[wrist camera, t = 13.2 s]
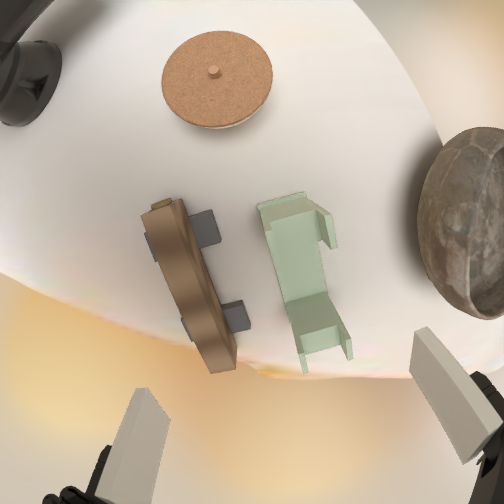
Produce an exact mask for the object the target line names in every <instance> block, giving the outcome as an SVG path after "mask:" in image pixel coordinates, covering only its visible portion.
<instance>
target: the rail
mask: <svg viewBox="0 0 504 504" xmlns="http://www.w3.org/2000/svg"><path fill="white" fill-rule="evenodd" d="M151 208H152V210H151V211H149V212H147V213H145V214H143V215H141V218H142V221H143V224H144V226H145V229H146V232H147V234H148V237H149V240H150V242H151V245H152V248H153V250H154V253H155V255H156V258H157V260H158V263H159V265H160V268H161V270H162V272H163V275H164V277H165V280H166V282H167V284H168V287H169V289H170V291H171V293H172V296H173V298H174V300H175V302H176V305H177V307H178V309H179V311H180V313H181V315H182V318H183V320H184V322H185V324H186V326H187V328H188V330H189V332H190V334H191V336H192V338H193V340H194V342H195V344H196V346H197V348H198V350H199V352H200V354H201V356H202V358H203V360H204V362H205V364H206V365H207V368H208V369H209V371H210V373H211V374H213V373H219V372H224V371H229V370H235V369H236V356H237V345H236V343H235V340H234V338H233V335H232V333H231V331H230V328H229V326H228V323H227V321H226V318H225V316H224V313H223V311H222V308H221V306H220V303H219V301H218V298H217V295H216V293H215V290H214V288H213V285H212V282H211V280H210V277H209V274H208V272H207V269H206V266H205V264H204V261H203V258H202V256H201V253H200V250H199V247H198V244H197V242H196V239H195V236H194V233H193V230H192V227H191V225H190V222H189V219H188V216H187V213H186V210H185V207H184V204H183V201H182V199H179V200H176V201H173V202H172V201H171V198H168V199H165V200H162V201H160V202H157V203H155V204H152V205H151Z"/></svg>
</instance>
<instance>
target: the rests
mask: <svg viewBox="0 0 504 504" xmlns="http://www.w3.org/2000/svg"><path fill="white" fill-rule="evenodd" d="M188 219H189V222H190V225H191V227H192V230H193V233H194V236H195V239H196V242H197V244H198V247H199V249H200V248H203V247H207V246H210V245H214V244H217V243H220V242H221V236H220V233H219V230H218V227H217V224H216V221H215V218H214V215H213V212H212V209H211V210H208V211H204V212H201V213H198V214H195V215H192V216H189V217H188ZM144 235H145V237H146V240H147V243H148V245H149V248H150V250H151V253H152V255H153V258H154V260H155V262H156V261H158V260H157V258H156V255H155V253H154V250H153V248H152V245H151V242H150V240H149V237H148V234H147V232H145V233H144ZM220 306H221V308H222V311H223V313H224V316H225V318H226V321H227V323H228V326H229V328H230V331H231V333H236V332H240V331H245V330H249V329H251V323H250V320H249V318H248V315H247V312H246V309H245V306H244V304H243V301H242V300H241V301H237V302H233V303H229V304H224V305H220ZM181 322H182V324H183V326H184V328H185V330H186V332H187V334H188V336H189V338H190V340H191V342H193V341H194V340H193V338H192V336H191V334H190V332H189V330H188V328H187V326H186V324H185V322H184V320H183V318H181Z"/></svg>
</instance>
